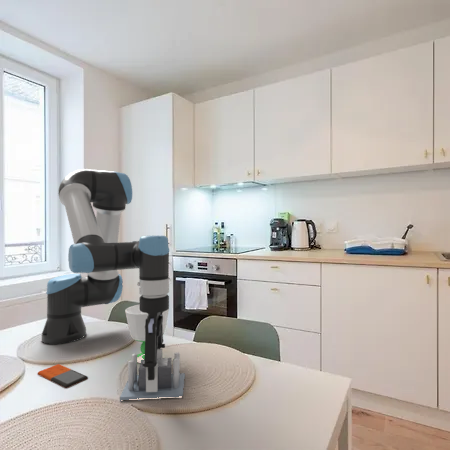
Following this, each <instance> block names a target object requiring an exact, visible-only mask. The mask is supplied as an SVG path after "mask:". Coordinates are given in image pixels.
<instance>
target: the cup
mask: <svg viewBox="0 0 450 450" xmlns="http://www.w3.org/2000/svg"><path fill="white" fill-rule="evenodd" d="M169 311H170V308H169V309H168V310H166V311H164V312H163V313H162V316H163V322H162V323H163V335H165V334H164V333H165V332H166V331H165V330H166V326H167V321H168V316H169ZM124 312H125V316H126V322H127V325H128V326H127V327H128V330H129V335H130V337H131V338H132V339H133V340H134V341H136V342H140V343H141V344H140V347H139V348H140V353H138V354H137V357H139V356H141V355H143V354H145V323H146V319H147V317H148V313H144V312H141V311H140V309H139V304H135V305H132V306H128V307H127V308H125V310H124ZM142 358H143V359H145V355H143V356H142Z"/></svg>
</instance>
